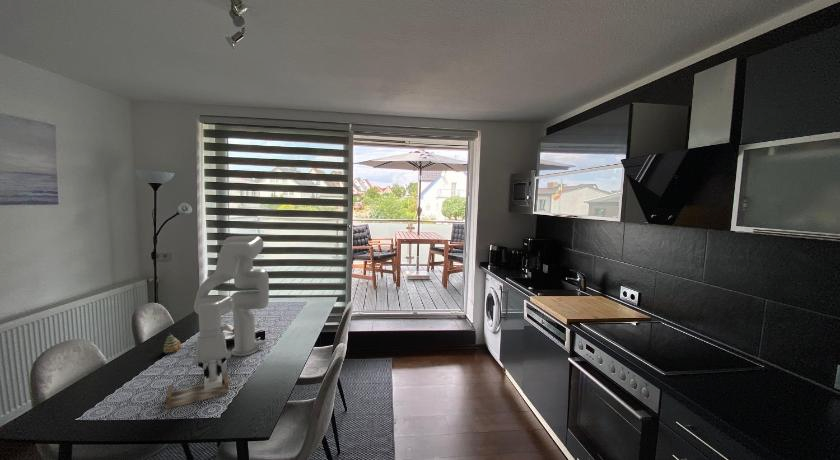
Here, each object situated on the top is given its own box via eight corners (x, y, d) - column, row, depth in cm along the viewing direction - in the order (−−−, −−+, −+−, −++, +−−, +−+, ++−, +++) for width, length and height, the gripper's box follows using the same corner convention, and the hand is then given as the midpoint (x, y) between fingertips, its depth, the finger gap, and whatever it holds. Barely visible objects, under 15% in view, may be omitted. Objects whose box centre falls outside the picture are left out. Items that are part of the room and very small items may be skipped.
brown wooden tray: (227, 382, 140) (227, 372, 140) (228, 392, 132) (228, 382, 132) (169, 397, 129) (168, 386, 129) (166, 409, 122) (165, 397, 121)
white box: (226, 373, 148) (226, 356, 147) (227, 380, 142) (226, 362, 141) (205, 378, 143) (204, 360, 143) (205, 385, 137) (204, 367, 137)
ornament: (168, 348, 172) (167, 330, 171) (182, 346, 174) (181, 328, 173) (162, 355, 165) (160, 336, 164) (176, 353, 167) (175, 334, 166)
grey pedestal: (221, 378, 138) (220, 353, 137) (222, 386, 132) (221, 359, 131) (204, 382, 135) (203, 356, 134) (204, 390, 129) (203, 363, 128)
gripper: (233, 325, 139) (235, 366, 141) (186, 333, 130) (188, 377, 132) (234, 330, 133) (236, 374, 134) (185, 339, 124) (187, 386, 125)
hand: (213, 375), depth 133 cm, fingers closed on grey pedestal, 3 cm apart
